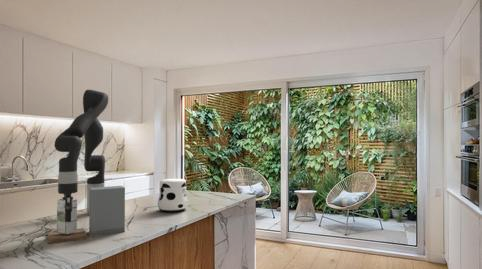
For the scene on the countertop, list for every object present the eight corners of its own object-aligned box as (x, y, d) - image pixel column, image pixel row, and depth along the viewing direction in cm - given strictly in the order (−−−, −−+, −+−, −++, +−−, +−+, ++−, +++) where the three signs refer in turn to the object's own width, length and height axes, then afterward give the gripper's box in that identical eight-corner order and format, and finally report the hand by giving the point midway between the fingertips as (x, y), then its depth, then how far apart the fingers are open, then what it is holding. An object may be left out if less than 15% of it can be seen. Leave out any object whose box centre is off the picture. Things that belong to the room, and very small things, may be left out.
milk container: (193, 209, 199) (193, 179, 200) (173, 214, 185) (173, 182, 185) (172, 206, 208) (172, 178, 209) (151, 211, 194) (151, 180, 194)
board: (48, 235, 145) (48, 232, 145) (83, 230, 152) (83, 228, 152) (48, 243, 132) (48, 240, 132) (86, 238, 139) (86, 235, 139)
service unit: (89, 231, 150) (89, 187, 151) (121, 227, 158) (121, 185, 158) (91, 236, 143) (91, 190, 143) (124, 231, 150) (124, 187, 150)
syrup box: (77, 231, 144) (77, 198, 144) (66, 234, 138) (66, 200, 139) (67, 230, 146) (68, 197, 146) (55, 233, 140) (56, 199, 141)
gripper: (78, 183, 138) (78, 221, 138) (76, 179, 151) (76, 215, 150) (58, 184, 135) (58, 224, 134) (57, 180, 147) (57, 217, 147)
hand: (67, 219), depth 142 cm, fingers closed on syrup box, 8 cm apart
